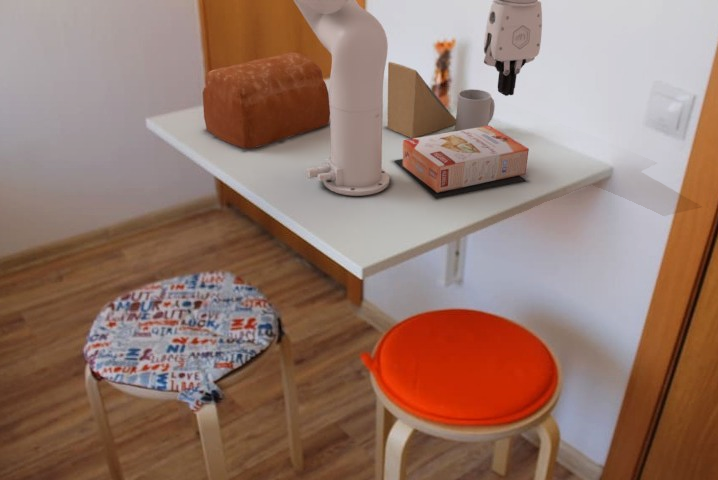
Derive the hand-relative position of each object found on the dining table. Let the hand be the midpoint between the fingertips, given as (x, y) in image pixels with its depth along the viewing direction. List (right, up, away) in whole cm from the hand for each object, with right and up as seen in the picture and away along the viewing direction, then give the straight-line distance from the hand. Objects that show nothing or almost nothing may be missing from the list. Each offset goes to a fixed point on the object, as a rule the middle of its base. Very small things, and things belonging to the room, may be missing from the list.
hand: (505, 93), depth 140 cm
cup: (-4, -3, +23) cm, 23 cm away
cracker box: (+2, -9, +7) cm, 12 cm away
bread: (-50, -3, +20) cm, 54 cm away
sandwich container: (-15, -1, +25) cm, 30 cm away
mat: (-9, -14, +5) cm, 17 cm away
